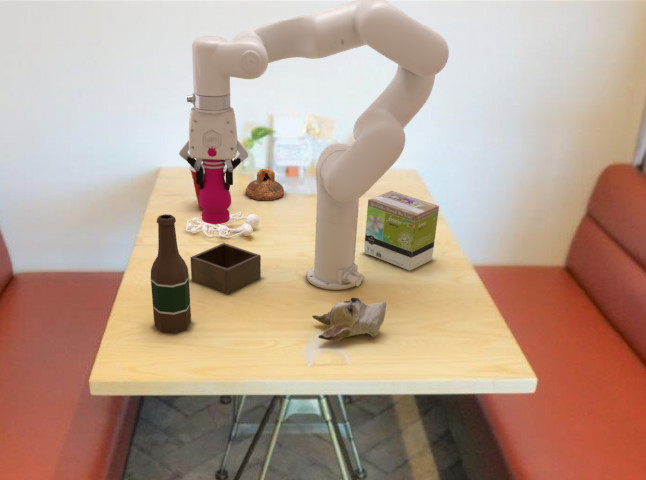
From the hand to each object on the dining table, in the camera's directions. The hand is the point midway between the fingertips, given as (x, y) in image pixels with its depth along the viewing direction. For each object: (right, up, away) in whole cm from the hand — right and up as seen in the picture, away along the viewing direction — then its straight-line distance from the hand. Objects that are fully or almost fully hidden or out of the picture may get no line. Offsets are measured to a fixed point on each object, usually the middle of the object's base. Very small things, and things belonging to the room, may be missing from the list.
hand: (214, 186), depth 176 cm
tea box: (+44, -11, +28) cm, 53 cm away
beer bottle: (-8, -31, -6) cm, 33 cm away
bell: (+8, +15, +66) cm, 68 cm away
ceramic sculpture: (+29, -33, -7) cm, 45 cm away
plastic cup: (-7, +8, +55) cm, 56 cm away
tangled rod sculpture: (-2, -2, +39) cm, 39 cm away
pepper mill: (0, -6, +4) cm, 8 cm away
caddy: (+1, -18, +14) cm, 23 cm away
